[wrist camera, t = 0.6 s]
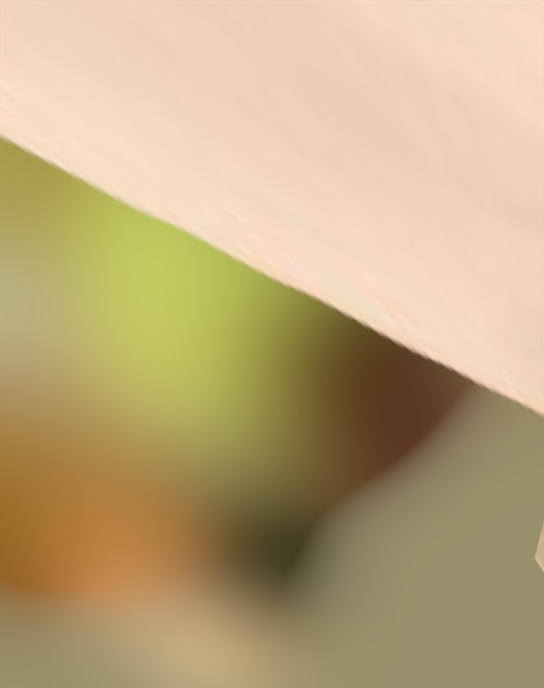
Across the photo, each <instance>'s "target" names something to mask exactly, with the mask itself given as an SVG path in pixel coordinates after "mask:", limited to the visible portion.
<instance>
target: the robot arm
mask: <svg viewBox="0 0 544 688" xmlns="http://www.w3.org/2000/svg"><path fill="white" fill-rule="evenodd" d="M535 560H536V561H537V562H538V564H539V565H540V567H541V569H542V570H543V572H544V523H543V527H542V531H541V535H540V539H539V543H538V547H537V551H536V555H535Z"/></svg>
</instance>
